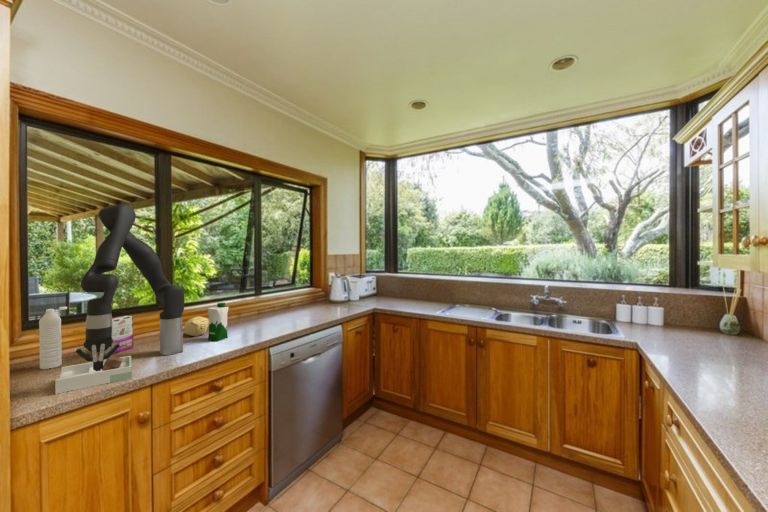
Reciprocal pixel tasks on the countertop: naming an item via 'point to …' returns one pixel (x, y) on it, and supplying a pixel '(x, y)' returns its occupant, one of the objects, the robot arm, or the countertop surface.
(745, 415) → the countertop surface
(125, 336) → the candy bar box
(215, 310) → the milk carton
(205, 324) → the sculpture
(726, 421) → the countertop surface
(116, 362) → the walnut block
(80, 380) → the track
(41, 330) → the water bottle
